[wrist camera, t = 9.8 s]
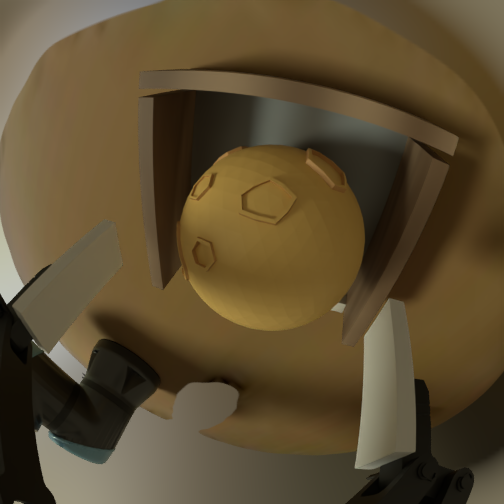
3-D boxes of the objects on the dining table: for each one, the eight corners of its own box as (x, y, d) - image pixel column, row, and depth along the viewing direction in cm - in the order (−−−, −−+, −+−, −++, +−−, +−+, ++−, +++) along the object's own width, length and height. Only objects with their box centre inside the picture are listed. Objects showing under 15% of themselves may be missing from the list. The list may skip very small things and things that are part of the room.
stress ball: (355, 236, 20) (425, 175, 10) (290, 353, 18) (329, 387, 8) (244, 172, 21) (239, 75, 12) (170, 277, 19) (101, 238, 10)
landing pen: (183, 250, 25) (153, 290, 21) (189, 69, 16) (139, 71, 11) (353, 298, 23) (351, 350, 19) (425, 119, 13) (459, 137, 9)
